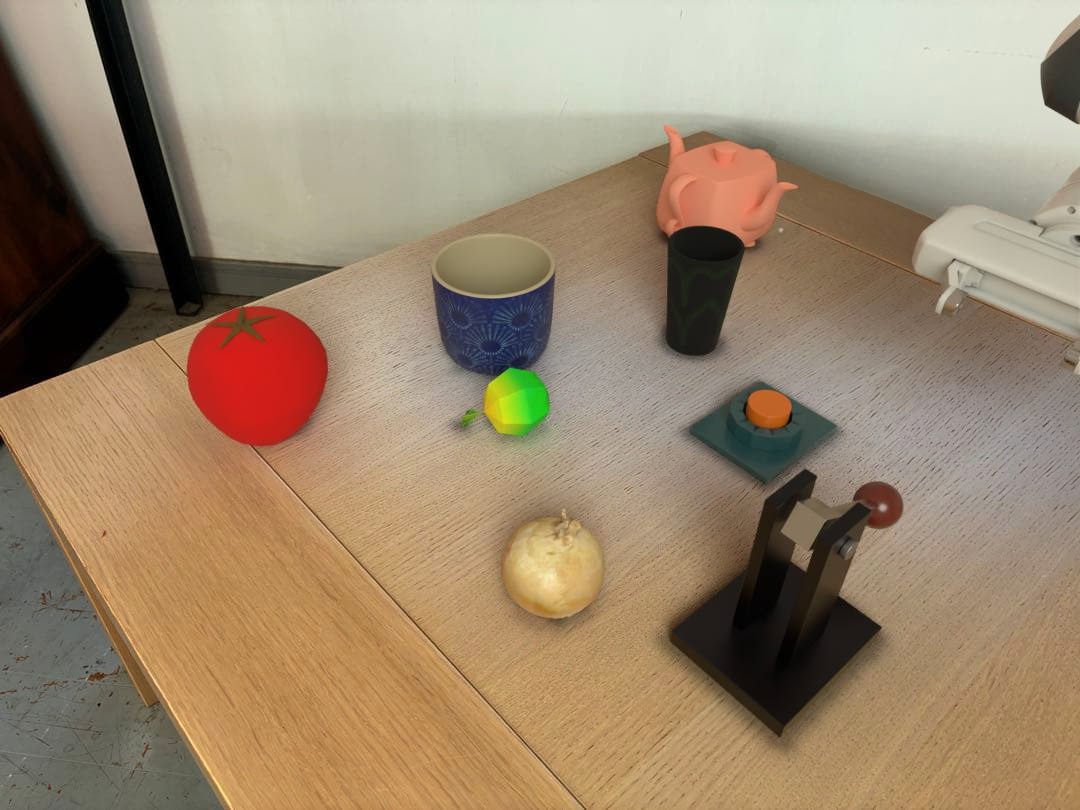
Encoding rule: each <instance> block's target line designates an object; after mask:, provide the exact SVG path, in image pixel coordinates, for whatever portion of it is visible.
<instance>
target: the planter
mask: <svg viewBox="0 0 1080 810" xmlns="http://www.w3.org/2000/svg"><path fill="white" fill-rule="evenodd" d="M556 263H557V262H556V259H555V257H554V255H553V253H552V252H551V251H550V250H549V249H548V248H547V247H546V246H544V245H543V244H542V243H540V242H538V241H536V240H535V239H532V238H529V237H525V236H522V235H517V234H513V233H505V232H487V233H486V232H485V233H478V234H471V235H467V236H464V237H461V238H458V239H456V240H452V241H451V242H449V243H447V244H445V245H443V247H441V248H440V249H439V250H438V251H437V252H436V253H435V255H434V256H433V258H432V259H431V261H430V274H431V279H432V281H431V282H432V288H433V297H434V304H435V312H436V318H437V325H438V330H439V335H440V338H441V341H442V345H443V347H444V349H445V351H446V353H447V355H448V356H449V357H450V359H451V360H452V361H453V362H455V363H456V364H457V365H458V366H460V367H461V368H463V369H465V370H468V371H469V372H472V373H476V374H479V375H486V376H500V375H501V374H502V373H504V372H505V371H506V370H508V369H509V368H513V369H519V370H525V369H527V368H529V367H530V366H532V365H533V364H535V363H536V362H537V361H538V360H539V359H540V358H541V357H542V355H543V354H544V352H545V351H546V349H547V346H548V345H549V341H550V336H551V331H552V324H553V316H554V315H553V314H554V301H555V300H554V299H555V285H556V284H555V283H556V268H557V265H556Z"/></svg>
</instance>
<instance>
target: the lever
mask: <svg viewBox="0 0 1080 810" xmlns="http://www.w3.org/2000/svg"><path fill="white" fill-rule="evenodd" d="M857 502H859V503H861V504H863V505H864V506H866V507H867V508H869V509H870V510H872V511H871V514H870V516H869V519H868V521H867V524H866V528H869V529H872V530H885V529H889V528H891V527H893V526H895V524H897V523H898V522H899V521H900V520H901V517H902V516H903V513H904V508H905V507H904V499H903V497H902V495H901V493H900V491H899V490H898V489H897V488H895V486H893V485H891V484H890V483H888V482H885V481H881V480H875V481H874V480H873V481H868V482H866V483H864V484H862V485H861V486H860V487H858V488H857V490H856V491H855V493H854V495H853V496H852V501H850V502H847V503H843V504H838V505H834V506H829V505H828V504H826V503H825V502H823V501H822V500H820V499H819V498H817V497H811V498H809V499H805V500H801V501H797V502H796V504H795V506H794V508H793V509H792V511H791V513H790V515H789V517H788V518H787V520H786V522H785V524H784V526H783V527H782V529H781V531H780V532H781V533H783V534H784V535H785V536H787V537H788V538H790V539H791V540H792V541H794V542H795V543H796V545H798V546H800V547H801V549H804V550H805V551H807V552H811V551H812V552H813V550H814V547H815V544H816V541H817V538H818V536H819V535H820V534H821V533H822V532H824V531H825V530H826V529H827V528H828V527H829V526H831V525H832V524H833V523H834V522H835V521H836V520H838V519H839V518H840V517H841V516H842V515H843V514H845V513H846V512H847V511H848V510H849V509H850V508H852V507H853V506H854V505H855V504H856V503H857Z"/></svg>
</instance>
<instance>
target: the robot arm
mask: <svg viewBox="0 0 1080 810" xmlns="http://www.w3.org/2000/svg"><path fill="white" fill-rule="evenodd" d="M1039 71H1040V72H1039V75H1040V88H1041V94H1042V100H1043V103H1044V104H1043V105H1044V106H1045V107H1047V108H1049V109H1050V110H1052V111H1054V112H1055V113H1057V114H1059V115H1060V116H1062V117H1064V118H1065V119H1068V120H1069V121H1070V122H1072V123H1074V124H1075V125H1080V14H1078V15H1077V16H1076V17H1075V18H1074V19H1073V20H1072V21H1070V23H1068V25H1066V27H1065V28H1064V29H1063V30H1062V31H1061V32H1060V33H1059V35H1057V37H1056V38H1055V39H1054V41H1053V42H1052V43H1051V45H1050V47H1049V49H1047V52H1046V54H1045V55H1044V59H1043V61H1042V62H1041V63H1040V70H1039ZM911 264H912V267H913V271H914V272H915V273H916V274H918V275H920V276H923V277H925V278H928V279H930V280H932V281H934V282H937V283H939V284H941V285H940V294H941V295H940V297H939V299H938V300H937V303H936V306H935V309H934V313H936V314H938V315H940V316H942V317H945V318H947V319H950V320H954V319H956V317H957V316H958V315H959V314H960V313H961V312H962V311H963V308H964V305H965V301H966V300H967V298H968V296H970V297H973V298H975V299H978V300H980V301H982V302H985V303H987V304H990V305H992V306H994V307H997V308H999V309H1001V310H1003V311H1006V312H1009V313H1011V314H1012V315H1016V316H1018V317H1020V318H1023V319H1025V320H1027V321H1029V322H1032V323H1035V324H1037V325H1039V326H1042V327H1044V328H1047V329H1049V330H1051V331H1054V332H1055V333H1058V334H1061V335H1062V336H1065V337H1067V338H1070V339H1071V340H1075V341H1074V342H1073V343H1072V345H1071V346H1070V347H1069V349H1068V350H1067V352H1066V353H1065V355H1064V357H1063V359H1062V361H1061V362H1060V364H1059V366H1058V367H1059V368H1061V369H1063V370H1066V371H1068V372H1070V373H1072V374H1074V375H1076V376H1078V377H1080V164H1079V165H1078V166H1077V167H1076V168H1075V169H1074V170H1073V171H1072V173H1070V175H1069V176H1068V177H1067V179H1065V181H1064V183H1063V185H1062V187H1061V188H1059V189H1058V190H1057V191H1055V192H1054V193H1053V194H1052V195H1051V196H1050V197H1048V198H1047V200H1046V201H1045V202H1044V203H1043V204H1042V205H1041V207H1039V209H1037V211H1036V212H1035V213H1034V214H1033V215H1032V216H1031V217H1030V219H1029V220H1028V221H1025V220H1022V219H1019V218H1017V217H1014V216H1010V215H1008V214H1006V213H1003V212H1000V211H997V210H995V209H992V208H989V207H986V206H982V205H978V204H964V205H960V206H959V205H954V206H951V207H949V208H948V209H947V210H946V211H945V212H944V213H943V214H942V216H941V217H938V219H936V220H934V222H932V223H931V224H930V225H928V226H927V227H926V228H925V229H924V230H923V231H922V232H921V233H920V234H919V237H918V239H917V241H916V243H915V247H914V249H913V253H912V257H911Z"/></svg>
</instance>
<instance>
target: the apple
mask: <svg viewBox="0 0 1080 810" xmlns="http://www.w3.org/2000/svg"><path fill="white" fill-rule="evenodd" d="M550 412H551V406H550V396H549V392H548V389H547V386H546V385H545V383H544V382H543V381H542V380H541V378H540V377H539V376H538V374H537V373H536V372H535V371H530V370H525V369H522V370H519V369H513V368H509V369H508V370H506V371H505V372H504V373H502V374H501V375H497V377H496V378H494V379H493V380H492V381H490V382H489V383H488V384H487V386H486V388H485V390H484V392H483V410H481V411H478V410H476V409H473V408H470V409H468V410H467V411H466V412H465V414H464V415H461V417H460V418H461V419H462V420H461V422H460V426H461V427H464V428H465V427H466V426H468V425H469V424H470V423H472V421H473V420H475V419H476V418H477V417H478V416H480V415H482V414H485V416H486V417H487V418H488V420H489V421H490V423H491V424H492V426H493V427H494V429H495V430H496V432H497V433H498V434H504V435H510V436H511V435H512V436H520V437H524V436H526V435H527V434H528V433H529V432H530V431H532V430H533V429H534V428H536V427H537V426H538V425H539V424H541V423H542V422H544V421H545V419H546V418H547V416H548V415H549V413H550Z"/></svg>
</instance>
